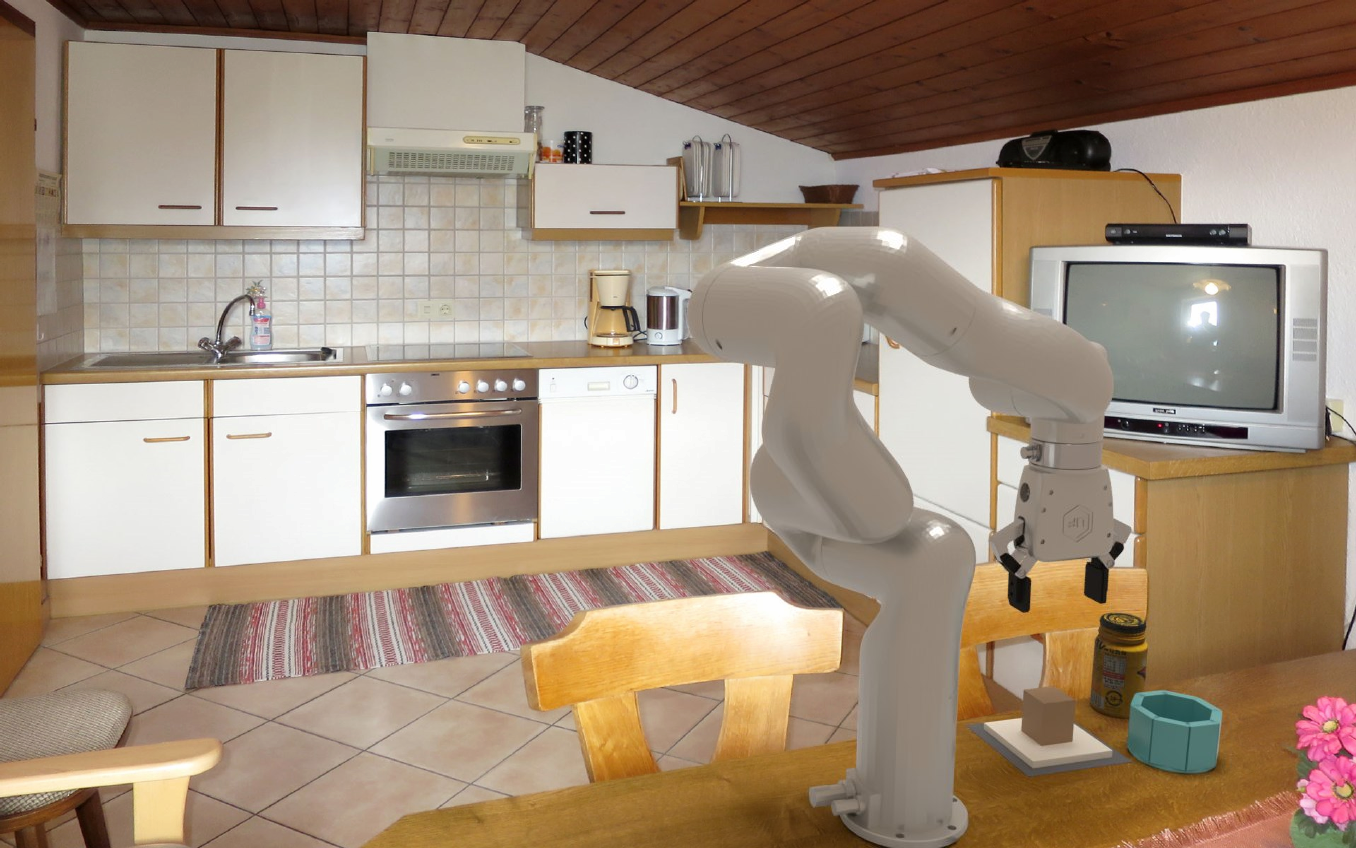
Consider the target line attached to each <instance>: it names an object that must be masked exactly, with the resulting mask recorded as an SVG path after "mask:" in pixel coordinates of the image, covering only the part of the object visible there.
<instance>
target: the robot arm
mask: <svg viewBox="0 0 1356 848" xmlns="http://www.w3.org/2000/svg"><path fill="white" fill-rule="evenodd" d="M686 320H687V326H688V330H689V333H690V336H691V337H692V339H693V341H694V343H695V344H696V345H697V346H698V347H699V348H700V349H701V351H703V352H704V353H706V354H707V355H709V356H710V357H713V358H715V359H717V360H720V361H723V362H728V363H734V364H741V365H750V366H756V367H757V366H758V367H764V368H769V369H770V368H772V369H774V372H773V376H772V377H773V378H772V381H771V384H770V389H769V393H768V397H767V402H766V404H765V409H764V413H763V417H762V421H761V436H762V437H761V438H762V441H763V443H762V444H761V445H760V446H759V448H758V449H757V451H756V453H755V454H754V456H753V459H752V463H751V466H750V470H749V471H750V473H749V486H750V493H751V497H752V501H753V503H754V506H755V508H756V510H757V512H758V514H759V515H760V517H761V518H762V520H763V521H764V522H765V523H766V524H767V526H768V527H769V528H770V529H771V530H772V531H773V533H775V534H776V536H778V537H779V539H780V540H781V541H782V542H783V543H784V544H785V545H786V546H787V548H789V550H790V551H792V553H793V554H794V555H795V556H796V558H797V559H799V561H801V562H802V563H803V564H804V565H805V566H806V567H807V568H808V570H810V571H811V572H812V573H813V574H815V575H816V576H817V577H819V578H820V579H822V580H823V581H825V582H828V583H830V584H833V585H835V586H838V587H841V588H844V589H846V590H850V591H853V592H856V593H859V594H862V595H865V596H867V597H869V598H871V599H874V600H878V601H879V602H880V610H879V612H878V614H877V615H876V617H875V618H874V619H873V621H872V622H871V623H870V624H869V626H868V627H867V629H866V630H865V631H864V632H865V633H864V634H863V637H862V639H861V642H860V648H859V663H858V666H859V671H858V699H857V700H858V701H857V703H858V704H857V728H856V729H857V731H856V762H855V764H856V765H855V767H850V768H847V769H846V771H845V777H846V778H845V779H841V780H838V782H837V783H836V784H830V785H828V784H824V785H817V786H816V785H815V786H810V787H809V789H808V800H809V802H810V804H811V806H812V808H820V807H825V806H826V807H827V806H830V808H831V813H832V814H833V816H835V817H837V816H840V819H841V821H842V823H843V824H844V825H845V826H846V827H847V829H848V830H849V831H851V832H853V834H855V835H857V836H858V837H860V838H862V839H863V840H866V841H867V842H871V843H873V844H875V845H879V846H881V847H882V846H883V847H886V848H944V847H946V846H949V845H951V844H954V843H956V842H957V841H958V840H960V839H959V838H961V837H962V836H963V835H964V834H965V833H966V831H967V829H968V826H969V813H968V809H967V807H966V805H965V804H964V803H963V802H962V800H961V799H959V797H957V796H956V795H955V794H954V781H955V780H954V779H955V762H956V760H955V758H956V742H957V741H956V740H957V739H956V738H957V721H958V720H957V718H958V699H959V697H958V696H959V679H960V677H959V676H960V660H961V659H960V658H961V657H960V655H961V645H962V634H963V633H962V632H963V625H964V619H965V614H966V609H967V604H968V601H969V596H970V592H971V588H972V585H973V580H974V577H975V571H976V565H977V553H976V548H975V544H974V542H973V539H972V537H971V536H970V534H969V533H968V531H967V530H966V529H965V528H964V527H963V526H962V525H960V523H958V522H957V521H955V520H953V519H952V518H950V517H948V516H945V515H943V514H941V513H938V512H936V511H932V510H928V509H926V508H925V509H924V508H921V507H916V506H914V504H915V503H914V502H915V501H914V500H915V499H914V493H913V490H912V487H911V486H912V485H911V484H910V481H909V479H908V477H907V475H906V473H905V472H904V470H903V469H902V467H901V465H900V464H899V462H898V461H897V460H896V458H895V457H894V456H893V454H891V452H890V451H889V449H888V447H886V445H885V444H884V442H882V439H880V438H879V436H878V435H877V434H876V432H875V431H874V430H873V428H872V427H871V425H869V423H868V421H866V419H865V417H864V416H863V414H862V413H861V411H860V410H859V409H858V407H857V405H856V402H855V397H854V386H855V380H856V379H855V378H856V371H857V366H858V360H859V357H860V354H861V349H862V344H863V339H864V333H865V324H866V325H868V326H869V327H871V328H873V329H874V330H876V331H877V332H879V333H880V334H882V335H883V336H886V337H887V338H889V339H890V340H892V341H893V342H895V343H896V344H898V345H899V346H900V347H902V348H903V349H905V350H907V351H908V352H909V353H911V354H912V355H914V356H915V357H917V358H918V359H920V360H921V361H923V362H924V363H925V364H927V365H929V366H932V367H935V368H936V369H939V370H943V371H945V372H949V373H951V374H955V375H959V376H962V377H967V378H968V386H969V387H968V388H969V391H970V393H971V395H972V398H973V399H974V401H976V402H977V403H978V405H980V407H983V408H984V409H986V410H988V411H991V412H993V413H997V414H1001V415H1005V416H1014V417H1019V418H1020V417H1021V418H1026V419H1027V418H1028V419H1029V418H1030V430H1029V431H1030V432H1029V439H1028V445H1027V446H1023V447H1021V448H1020V451H1019V452H1020V457H1021V459H1022V460H1027V461H1028V464H1025V465H1024V466H1023V469H1022V471H1021V476H1020V480H1019V484H1018V488H1017V493H1016V498H1015V505H1014V507H1015V509H1014V514H1013V515H1014V516H1013V521H1012V522H1011V523H1009V524H1007V525H1006V526H1004V527H1003V528H1001V529H1000V530H998V531H997V532H995V533H994V534H992V535H991V536H989V538H988V541H987V542H988V543H989V546H990V549H991V550H992V552H993V554H994V558H995V560H996V561H997V562H998V563H999V564H1000V565H1001V566H1002V567H1003V569H1004V570H1005V572H1007V573H1008V575H1007V578H1008V579H1007V600H1008V605H1010V606H1011V607H1012V608H1014V609H1015V610H1018V612H1020V613H1023V614H1026V613H1029V612H1030V611H1031V596H1032V594H1031V592H1032V579H1031V578H1030V577H1028V574H1029V573H1030V571H1031V570H1032V569H1033V567H1034V566H1035V565H1036V563H1038V562H1040V563H1041V562H1042V563H1054V562H1055V563H1056V562H1064V561H1073V560H1083V559H1089V560H1090V561H1086V563H1085V568H1084V586H1083V595H1084V596H1085V597H1087V598H1088V599H1090V600H1092V601H1094V602H1096V603H1098V604H1100V605H1102V604H1106V603H1107V599H1108V598H1107V597H1108V590H1109V578H1110V577H1109V575H1110V572H1109V571H1110V570H1111V569H1114V567H1115V565H1116V562H1115V560H1116V559H1118V557H1120V555H1121V554H1122V553H1123V551H1124V550H1125V544H1126V543H1127V541H1128V539H1129V537H1130V535H1131V533H1132V531H1133V530H1132V527H1131V526H1130V525H1129V524H1126V523H1124V522H1122V521H1120V520H1118V519H1117V518H1115V517H1114V498H1113V489H1112V488H1113V487H1112V481H1111V476H1110V472H1109V468H1108V466H1106V465H1103V464H1102V461H1103V450H1104V449H1103V447H1104V445H1103V444H1104V429H1105V415H1106V414H1105V412H1106V411H1107V409H1108V408H1109V406H1110V404H1111V402H1112V399H1113V396H1114V388H1115V382H1114V381H1115V380H1114V379H1115V378H1114V373H1113V370H1112V368H1111V366H1110V364H1109V361H1108V352H1107V350H1106V348H1105V347H1104V346H1103V345H1102V344H1100V343H1099V342H1095V341H1089V340H1088V339H1087V338H1086V337H1084V335H1082V334H1081V333H1080V332H1078V331H1077V330H1075V329H1074V328H1072V327H1070V326H1068V325H1066V324H1064V323H1062V322H1061V321H1058V320H1056V319H1055V318H1052V317H1050V316H1047V315H1045V314H1042V313H1039V312H1037V311H1035V310H1032V309H1030V308H1027V307H1024V306H1023V305H1020V304H1018V303H1016V302H1014V301H1011V300H1009V299H1006V298H1003V297H1000V296H999V295H996V294H992V293H990V292H987V291H985V290H983V289H981V288H979V287H978V286H977V285H975V284H974V283H973V282H972V281H971V280H969V279H968V278H967V277H965V276H963V274H961V273H960V272H959V271H957V270H956V269H955V268H954V267H952V266H951V265H950V264H949V263H947V262H946V261H945V260H943V259H942V258H941V257H940V256H938V255H937V254H935V252H933V251H932V250H931V249H930V248H929V247H927V246H926V245H924V244H923V243H922V242H921V241H919V240H918V239H916V237H914V236H912V235H911V234H908V233H907V232H905V231H903V230H899V229H897V228H893V227H889V226H877V225H876V226H875V225H874V226H819V227H813V228H811V229H806V230H804V231H801V232H798V233H795V234H792V235H790V236H787V237H785V238H783V239H780V240H777V241H775V242H772V243H770V244H768V245H764V246H763V247H761V248H758V249H755V250H753V251H751V252H748V253H746V254H743V255H740V256H738V257H736V258H732V259H731V260H728V261H725V262H723V263H721V264H719V265H717V266H715V267H714V268H712V269H711V270H709V272H707V273H706V274H704V275H703V276H702V277H701V279H700V280H699V281H698V282H697V283H696V285H695V287H694V288H693V289H692V292H691V293H690V297H689V299H688V304H687V309H686ZM1011 542H1012V543H1013V548H1014V551H1012V553H1011V554H1010V552H1009V549H1008V546H1009V544H1010V543H1011Z"/></svg>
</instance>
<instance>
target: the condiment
mask: <svg viewBox="0 0 1356 848" xmlns="http://www.w3.org/2000/svg"><path fill="white" fill-rule="evenodd" d="M1146 631H1147V622H1146V621H1145V620H1144V619H1143V618H1141V617H1139V616H1138V615H1134V614H1130V613H1125V612H1107V613H1103V614H1102V615H1101V616H1100V618H1099V627H1098V629H1097V632H1098V634H1097V636H1096V637H1095V638H1094V648H1093V658H1092V659H1093V660H1092V671H1091V686H1090V698H1089V699H1090V700H1089V701H1090V705H1091V708H1092V709H1093V710H1095V711H1096V712H1098V713H1100V714H1102V715H1104V716H1109V717H1112V718H1117V719H1118V718H1120V719H1129V716H1130V705H1131V702H1132V700H1133V697H1134V695H1135V694H1136V693H1141V692H1146V691H1145V689H1146V677H1147V663H1148V652H1149V646H1148V643H1147V641H1146V638H1147V633H1146Z"/></svg>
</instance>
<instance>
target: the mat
mask: <svg viewBox="0 0 1356 848" xmlns="http://www.w3.org/2000/svg"><path fill="white" fill-rule="evenodd" d="M984 723H985V722H982V723H981V722H979V723H973V724H965V726H966V728H968V729H969V730H971V731H972V733H974V734H975V735H976V736H977V737H979V738H980V739H981V740H982V741H984V742H985V743H987V745H988V746H990V747H991V748H992V749H994V750H995V751H996V752H997V753H998V754H1000V755H1001V756H1002V757H1004V758H1005V760H1007V761H1008V762H1010V763H1011V764H1012V765H1013V766H1014V767H1016V768H1017V769H1018V770H1019V771H1021V773H1023V774H1024V775H1025V776H1027V777H1028V778H1031V777H1038V776H1039V777H1040V776H1045V775H1051V774H1058V773H1065V772H1072V771H1080V770H1086V769H1087V770H1088V769H1094V768H1101V767H1107V766H1114V765H1124V764H1129V763H1133V761H1132V760H1131V759H1130V758H1128V757H1126V756H1125V755H1124V754H1122V753H1121V752H1119V751H1118V750H1117V749H1115V748H1113V747H1112V746H1110V745H1109V744H1107V743H1106V742H1104V741H1103V740H1102V739H1100V738H1099V737H1097V736H1096V735H1095V734H1094V733H1092V732H1090V731H1088V730H1087V729H1086V728H1084V727H1083V726H1082V725H1080V724H1079V723H1077V722H1076V721H1074V724H1075V725H1076V726H1078V727H1079V728H1081V729H1082V730H1084V731H1085V732H1087V733H1088V734H1089V735H1091V736H1092V737H1094V738H1095V739H1097V740H1098V741H1100V742H1101V743H1102V744H1104V745H1105V746H1107V747H1108V748H1110V749H1111V750H1113V751H1112V757H1110V758H1103V759H1096V760H1089V761H1082V762H1075V763H1067V764H1060V765H1053V766H1046V767H1039V768H1032V767H1030V766H1029V765H1028V764H1027V763H1025V762H1024V761H1023V760H1022V759H1020V758H1019V757H1018V756H1017V755H1015V754H1014V753H1013V752H1012V751H1010V750H1009V749H1008V748H1007V747H1005V746H1004V745H1003V744H1002V743H1000V742H999V741H998V740H997V739H995V738H994V737H993V736H992V735H990V734H989V733H988V732H987V731H985V730H984Z"/></svg>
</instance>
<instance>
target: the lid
mask: <svg viewBox="0 0 1356 848" xmlns="http://www.w3.org/2000/svg"><path fill="white" fill-rule="evenodd" d="M1075 710H1076V699H1075V698H1073V697H1072V696H1070V695H1069V694H1067V693H1066V692H1064V691H1063V690H1061V689H1060V688H1058V687H1056V686H1055V685H1053V686H1052V685H1051V686H1043V687H1035V688H1027V689H1023V695H1022V711H1021V712H1022V713H1021V717H1019V718H1012V719H1004V720H995V721H988V722H983V723H984V730H985V731H987V732H988V733H989V734H990V735H992V736H993V737H994V738H995V739H997V740H998V741H999V742H1000V743H1002V744H1003V745H1004V746H1005V747H1007V748H1008V749H1009V750H1010V751H1012V752H1013V753H1014V754H1015V755H1017V756H1018V757H1019V758H1020V759H1022V760H1023V761H1024V762H1025V763H1027V764H1028V765H1029V766H1030V767H1032V768H1039V767H1046V766H1053V765H1060V764H1067V763H1075V762H1082V761H1089V760H1096V759H1103V758H1110V757H1112V751H1113V750H1111V749H1110V748H1108V747H1107V746H1105V745H1104V744H1102V743H1101V742H1100V741H1098V740H1097V739H1095V738H1094V737H1092V736H1091V735H1089V734H1088V733H1087V732H1085V731H1084V730H1082V729H1081V728H1079V727H1078V726H1076V725H1075V724H1074V722H1075Z"/></svg>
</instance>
